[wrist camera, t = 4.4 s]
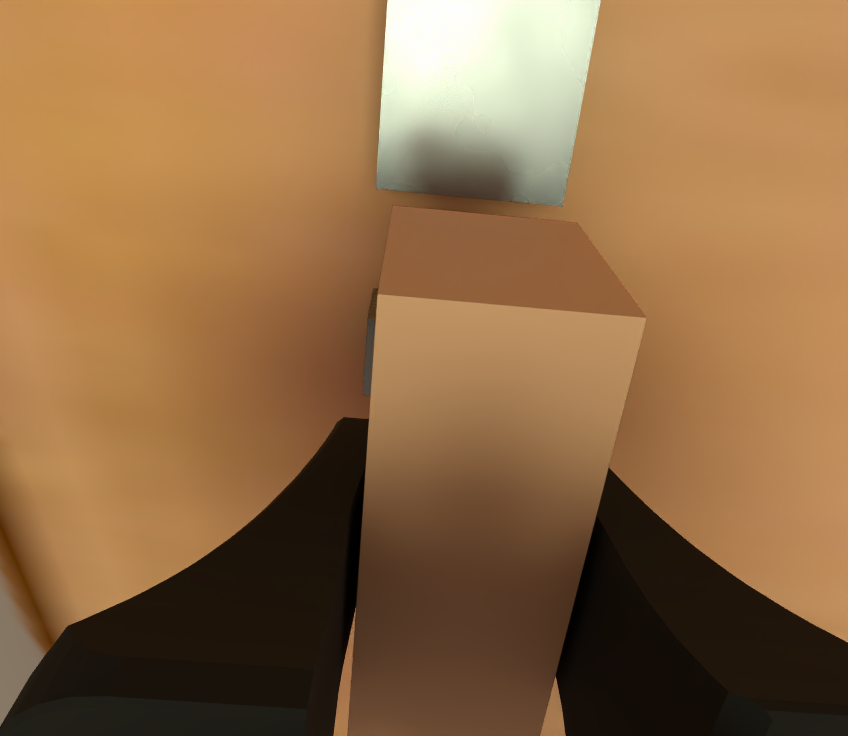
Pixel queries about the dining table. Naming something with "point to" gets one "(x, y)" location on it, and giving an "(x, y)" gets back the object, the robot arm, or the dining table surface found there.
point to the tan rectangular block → (482, 467)
